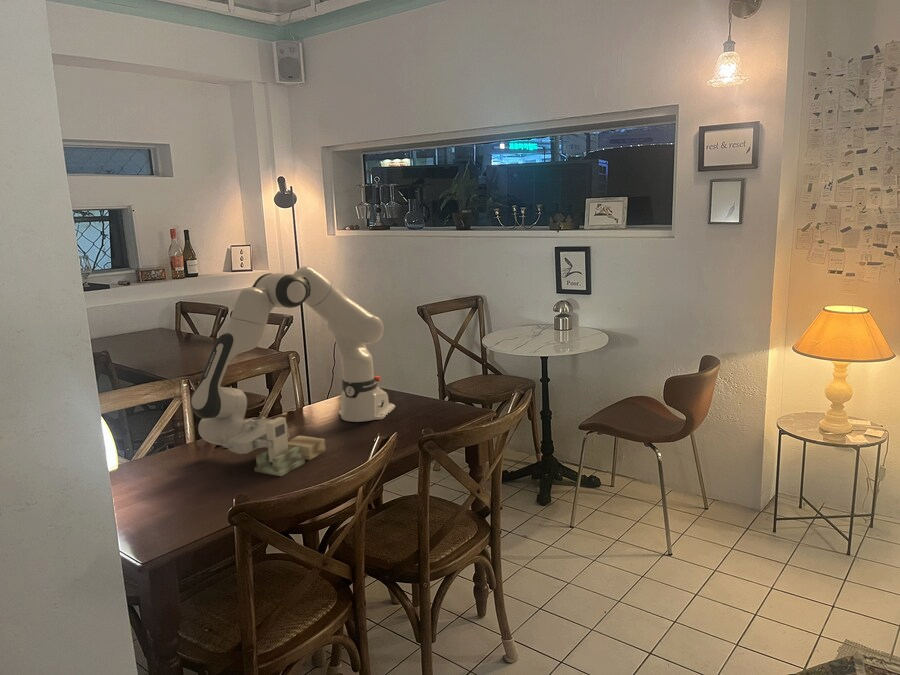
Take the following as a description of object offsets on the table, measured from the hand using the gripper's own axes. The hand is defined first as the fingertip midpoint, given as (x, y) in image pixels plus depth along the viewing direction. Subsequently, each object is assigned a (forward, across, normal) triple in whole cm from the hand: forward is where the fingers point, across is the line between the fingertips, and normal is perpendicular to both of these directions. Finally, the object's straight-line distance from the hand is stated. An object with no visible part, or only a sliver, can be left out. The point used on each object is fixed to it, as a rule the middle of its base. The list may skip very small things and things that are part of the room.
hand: (279, 439), depth 201 cm
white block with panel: (-1, 0, +6) cm, 6 cm away
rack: (-1, 0, +9) cm, 9 cm away
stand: (-1, +12, +9) cm, 15 cm away
